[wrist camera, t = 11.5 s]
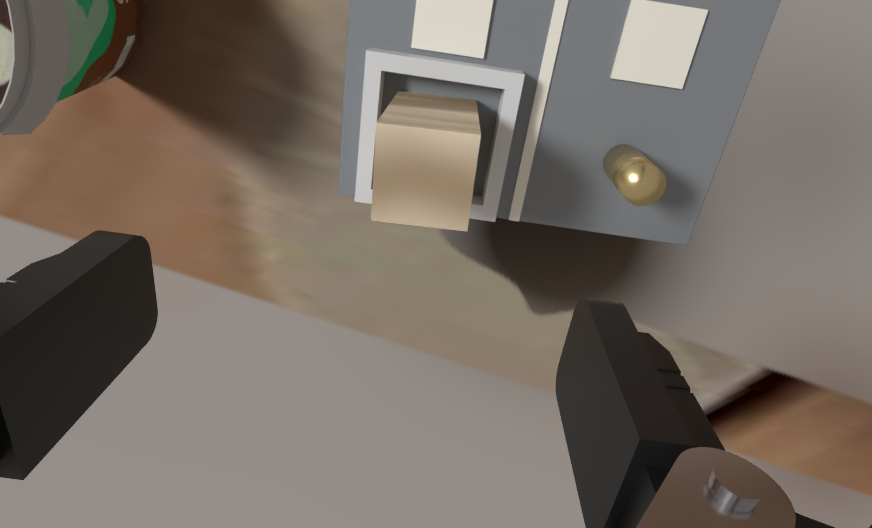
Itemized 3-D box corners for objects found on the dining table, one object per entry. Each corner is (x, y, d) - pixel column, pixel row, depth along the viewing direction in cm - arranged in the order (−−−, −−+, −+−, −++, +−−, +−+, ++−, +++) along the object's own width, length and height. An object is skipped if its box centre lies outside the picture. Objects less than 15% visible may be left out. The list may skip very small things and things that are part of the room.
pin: (608, 141, 28) (629, 162, 25) (646, 147, 28) (672, 168, 25) (598, 178, 29) (617, 202, 26) (634, 183, 29) (658, 209, 26)
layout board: (358, -74, 25) (347, -81, 23) (772, -8, 26) (801, -9, 24) (341, 188, 31) (331, 203, 29) (680, 238, 32) (697, 256, 29)
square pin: (398, 90, 28) (376, 122, 21) (476, 99, 28) (481, 135, 21) (393, 166, 29) (370, 220, 22) (466, 174, 29) (467, 231, 22)
